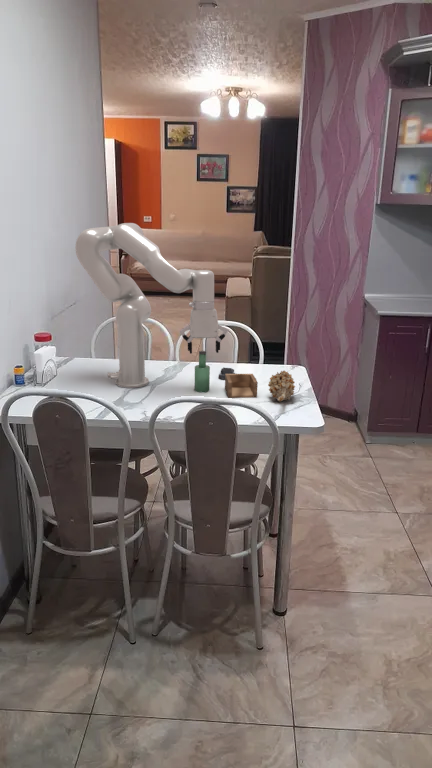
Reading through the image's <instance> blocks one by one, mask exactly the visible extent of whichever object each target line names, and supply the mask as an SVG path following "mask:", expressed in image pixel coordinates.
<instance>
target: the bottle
mask: <svg viewBox="0 0 432 768" xmlns="http://www.w3.org/2000/svg"><path fill="white" fill-rule="evenodd" d="M210 370H211V367H210V365H207V351H206V350H199V351H198V364H197V365H195V366H194V389H193V390H194V391H195V392H197V393H207V392H210V379H211V377H210V376H211V375H210V374H211V371H210Z"/></svg>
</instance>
